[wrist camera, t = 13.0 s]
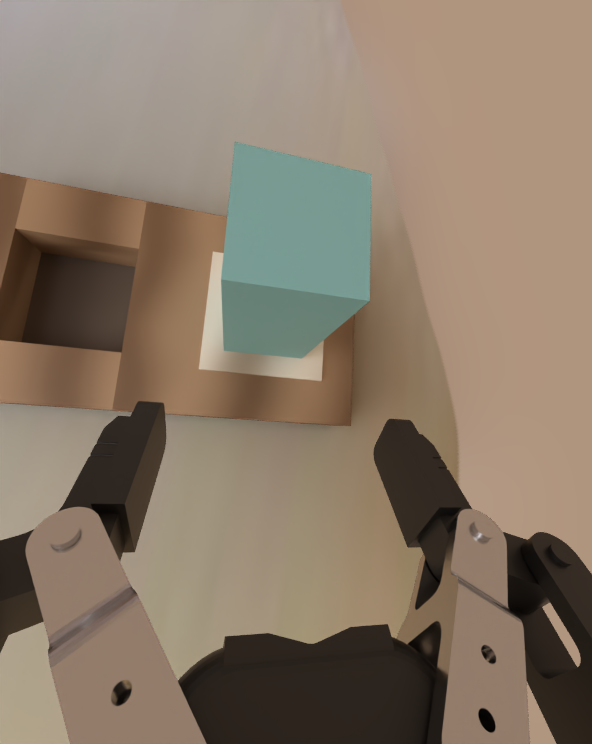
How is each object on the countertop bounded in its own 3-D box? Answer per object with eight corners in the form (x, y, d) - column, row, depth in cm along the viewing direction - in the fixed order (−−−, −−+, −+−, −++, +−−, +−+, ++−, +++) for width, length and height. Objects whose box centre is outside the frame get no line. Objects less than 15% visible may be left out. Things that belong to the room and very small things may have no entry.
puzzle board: (-49, 399, 17) (-111, 394, 14) (1, 204, 19) (-43, 161, 16) (334, 425, 21) (351, 425, 18) (340, 264, 23) (357, 240, 20)
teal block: (223, 350, 17) (221, 279, 9) (230, 275, 18) (234, 141, 9) (301, 358, 18) (369, 300, 10) (305, 286, 19) (371, 173, 10)
